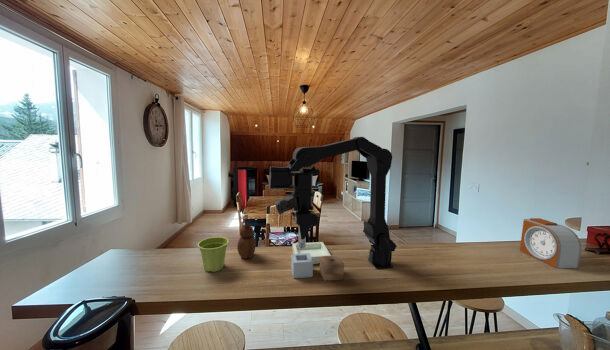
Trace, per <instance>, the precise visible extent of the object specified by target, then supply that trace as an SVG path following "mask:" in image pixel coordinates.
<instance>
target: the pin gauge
mask: <svg viewBox="0 0 610 350" xmlns="http://www.w3.org/2000/svg"><path fill="white" fill-rule="evenodd" d="M306 238H307V236H306V237H305V239H301V235H300V229H299V228H298V243H299V248H305V247H306V243H307V241H306Z"/></svg>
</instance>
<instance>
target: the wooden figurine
mask: <svg viewBox="0 0 610 350" xmlns="http://www.w3.org/2000/svg"><path fill="white" fill-rule="evenodd" d="M253 234H254V228H253V226H252V225H248V218H247V217H245V225H243V226H241V227H240V230H239V235H240V237H239V239H238V242H237V246H236V247H237V253H238V255H239V256H240V257H241V258H242V259H250V258H251V257H253V256H254V253H255V252H256V251H255V250H256V245H257V242H256V237H255V236H254V235H253Z"/></svg>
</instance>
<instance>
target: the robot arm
mask: <svg viewBox="0 0 610 350" xmlns="http://www.w3.org/2000/svg"><path fill="white" fill-rule="evenodd" d="M355 151H357V152H358V154H360V155H361V156H362V157H363V158H364V159H365V160H366V166H367V169H368V172H369V174H370V195H369V196H370V206H369V208H370V209H369V218H368V220H364V221H363V230H362V232H363V233H364V235H365V238H367V239H368V242H369V243H370V249H369V252H368V253H369V255H368V262H369V263H370V264H372V266H373V267H374V268H375V269H388V268H389V269H390V268H394V264H392V258H393V257H392V255H393V252H395V251H396V248H397V244H396V242H394V241H393V240H392V238H390V237H391V235H390V227H389V226H388V223H387V221H386V193H387V190H386V189H387V187H386V186H387V185H386V184H387V175H388V173H389V171H390V169H391V167H392V162H393V153H392V152H391V151H390V150H389V149H387V148H382V147H381V146H379V145H377V144H375V143H374V142H371V141H370V140H368V139H367V138H366V137H364V136H355V137H352V138H349V139H345V140H341V141H337V142H333V143H329V144H325V145H324V144H323V145H321V146H302V147H301V146H300V147H297V148H295V150H294V151H293V153H292V158H291V160H290V161H289V162H288V163H287V165H286V166H275V165H273V166H270V167H269V176H268V189H269V190H289V189H290V188H291V187H292V186H293V190H292V191H291V195H289V196H285V197H283V198H281V199H277V200H276V201H274V205H275V208H276V211H277V213H278V215H282V214H284V213H286V212H288V211H291V215H292V216H293V220H294V222H295V224H296V225H297V228H298V230H299V229H300V235H301V239H305V237H306V238H307V235H308V233H309V231H310V229H311V228H312V225H319V219H320V216H318V214H317V213H316V212H315V211H314V205H313V197H314V191H313V175H319V174H320V171H319V170H318V169H316V167H315V166H314V165H315V164H318V163H320V162H321V161H322V160H325V159H327V158H331V157H335V156H339V155H343V154H347V153H351V152H355Z"/></svg>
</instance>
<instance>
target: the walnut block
mask: <svg viewBox="0 0 610 350" xmlns="http://www.w3.org/2000/svg"><path fill="white" fill-rule="evenodd" d="M344 267H345V264H344V262H343V261H342V259H341V258H340V256H339V255H338V254H336V255H331V256H320V264H319V273H320V275H321V277H322V279H323V281H324V282H326V280H328V281H336V280H338V281H340V280H344V272H345V271H344V270H345V269H344Z"/></svg>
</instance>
